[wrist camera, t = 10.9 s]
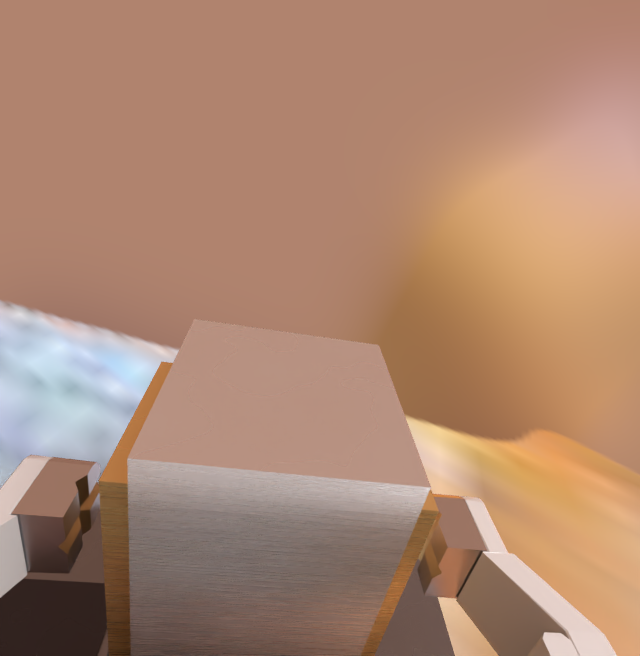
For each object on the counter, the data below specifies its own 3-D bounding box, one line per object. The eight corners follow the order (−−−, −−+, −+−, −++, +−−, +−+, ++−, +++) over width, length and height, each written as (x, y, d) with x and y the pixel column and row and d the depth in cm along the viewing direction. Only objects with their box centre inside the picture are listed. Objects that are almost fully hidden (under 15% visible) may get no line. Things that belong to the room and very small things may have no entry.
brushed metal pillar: (109, 797, 11) (81, 453, 6) (158, 615, 15) (168, 315, 10) (322, 796, 12) (467, 490, 7) (315, 623, 16) (402, 348, 11)
